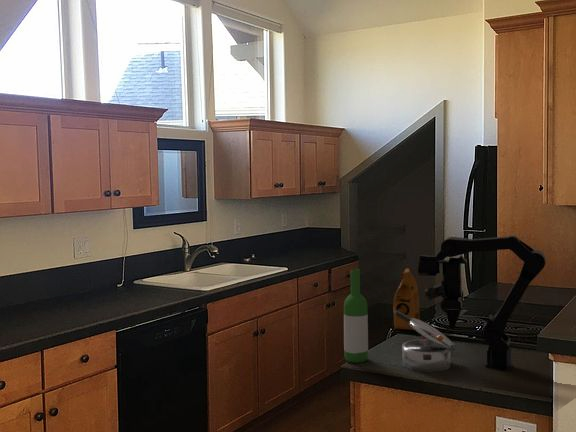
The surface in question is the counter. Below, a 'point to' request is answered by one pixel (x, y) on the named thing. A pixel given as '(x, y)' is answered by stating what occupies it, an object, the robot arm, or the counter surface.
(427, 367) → the cooker pot
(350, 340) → the wine bottle
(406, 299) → the coffee package
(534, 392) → the counter surface
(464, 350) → the counter surface
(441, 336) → the lid
